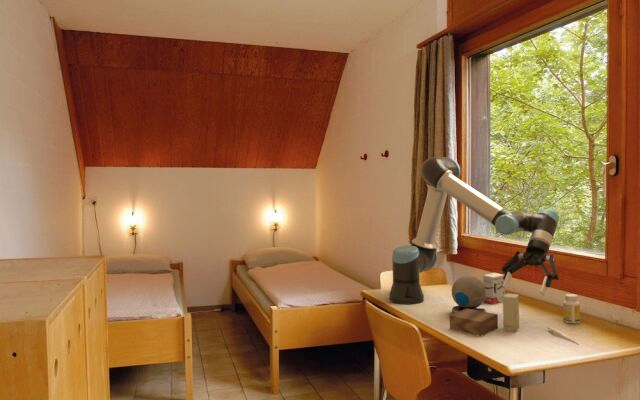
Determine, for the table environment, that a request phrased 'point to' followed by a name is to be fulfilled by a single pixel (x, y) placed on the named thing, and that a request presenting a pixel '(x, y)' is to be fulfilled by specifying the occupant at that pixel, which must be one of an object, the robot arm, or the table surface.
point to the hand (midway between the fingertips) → (522, 291)
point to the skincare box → (511, 312)
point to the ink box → (494, 288)
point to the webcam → (468, 294)
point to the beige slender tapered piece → (561, 334)
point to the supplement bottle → (571, 309)
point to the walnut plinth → (474, 322)
